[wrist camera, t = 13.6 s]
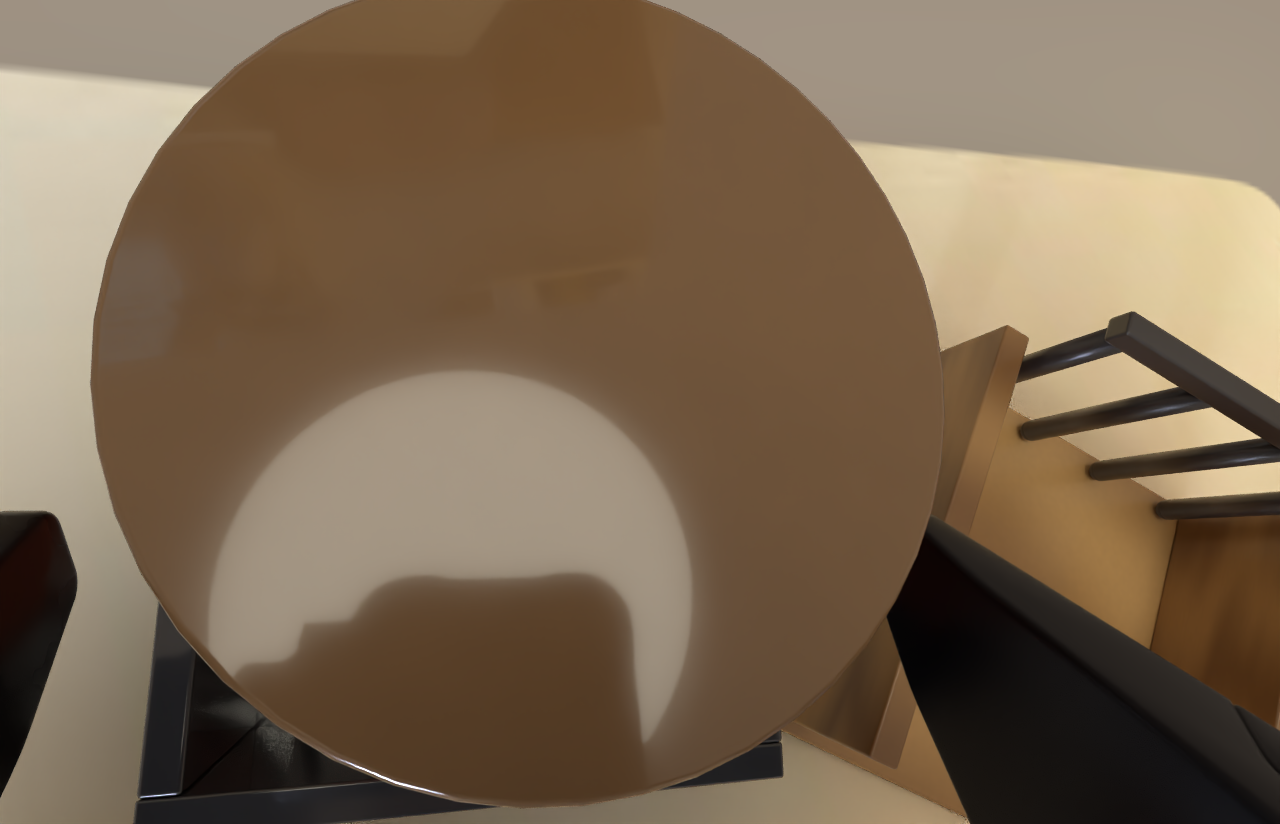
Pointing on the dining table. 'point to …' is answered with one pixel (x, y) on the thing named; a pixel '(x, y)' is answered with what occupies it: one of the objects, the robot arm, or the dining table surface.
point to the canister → (517, 395)
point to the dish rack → (1087, 536)
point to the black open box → (283, 759)
